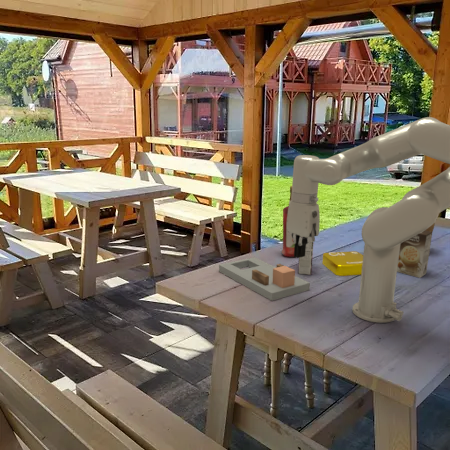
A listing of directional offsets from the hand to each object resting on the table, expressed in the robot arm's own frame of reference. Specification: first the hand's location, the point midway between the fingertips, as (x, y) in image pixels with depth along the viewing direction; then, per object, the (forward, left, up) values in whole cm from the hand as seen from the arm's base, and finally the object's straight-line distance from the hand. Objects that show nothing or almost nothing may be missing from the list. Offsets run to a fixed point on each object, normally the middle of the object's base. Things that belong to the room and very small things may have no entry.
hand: (299, 256), depth 142 cm
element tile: (+11, -35, -15) cm, 40 cm away
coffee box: (-5, -51, -14) cm, 54 cm away
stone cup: (+10, -75, -14) cm, 77 cm away
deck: (+18, 0, -14) cm, 23 cm away
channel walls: (+13, 0, -12) cm, 17 cm away
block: (+7, 0, -12) cm, 14 cm away
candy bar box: (+18, -20, -14) cm, 31 cm away
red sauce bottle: (+33, -26, -14) cm, 45 cm away
